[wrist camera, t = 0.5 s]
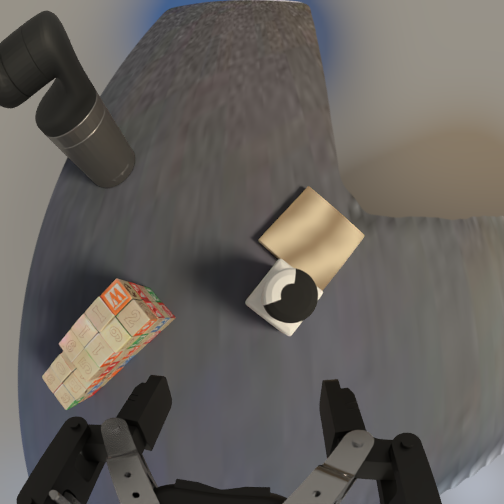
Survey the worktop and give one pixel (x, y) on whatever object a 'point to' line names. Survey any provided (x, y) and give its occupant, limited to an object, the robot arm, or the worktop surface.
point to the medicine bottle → (285, 297)
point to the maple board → (312, 237)
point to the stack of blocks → (105, 340)
